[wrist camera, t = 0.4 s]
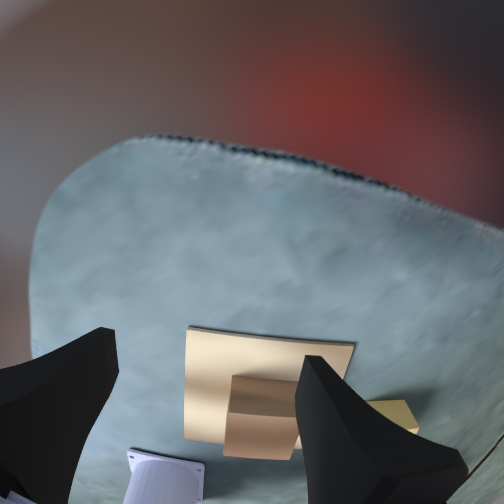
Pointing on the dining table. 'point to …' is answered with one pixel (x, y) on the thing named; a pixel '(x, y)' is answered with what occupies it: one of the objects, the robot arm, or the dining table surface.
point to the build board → (241, 372)
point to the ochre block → (396, 413)
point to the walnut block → (261, 419)
